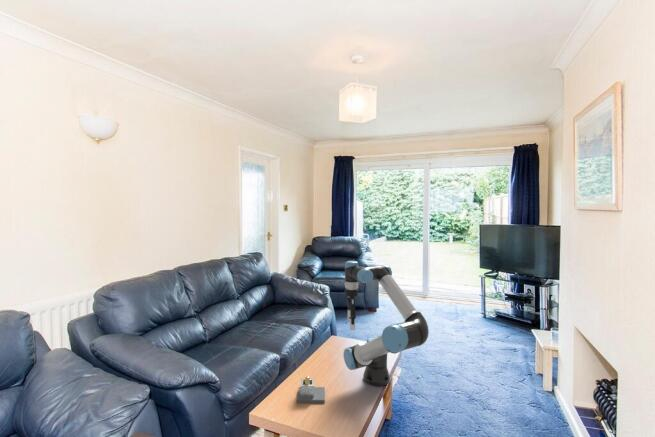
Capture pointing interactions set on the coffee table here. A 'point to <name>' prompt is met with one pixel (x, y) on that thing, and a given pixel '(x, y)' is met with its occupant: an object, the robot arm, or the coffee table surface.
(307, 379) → the pin
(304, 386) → the steel collar
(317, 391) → the keeper plate
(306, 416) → the coffee table surface
